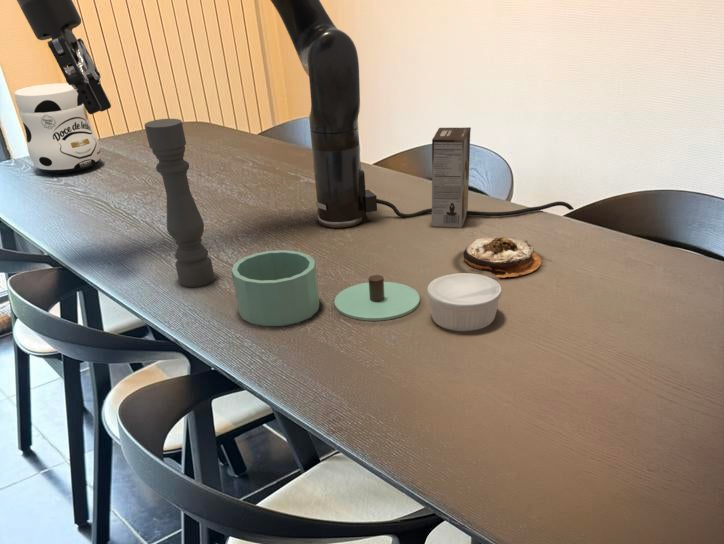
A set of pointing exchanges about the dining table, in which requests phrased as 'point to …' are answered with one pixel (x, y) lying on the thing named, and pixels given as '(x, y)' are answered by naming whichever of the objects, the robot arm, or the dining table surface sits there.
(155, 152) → the candle holder
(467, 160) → the coffee box
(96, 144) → the doce de leite jar
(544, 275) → the dining table surface
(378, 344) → the dining table surface
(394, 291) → the pot lid
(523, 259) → the cream topped cake
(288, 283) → the pot
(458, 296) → the ramekin
